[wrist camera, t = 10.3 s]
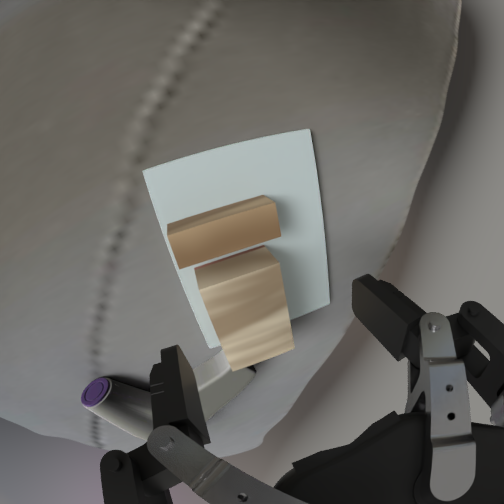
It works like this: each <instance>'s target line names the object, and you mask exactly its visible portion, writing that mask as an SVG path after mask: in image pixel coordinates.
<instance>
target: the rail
mask: <svg viewBox="0 0 504 504" xmlns="http://www.w3.org/2000/svg"><path fill="white" fill-rule="evenodd" d="M167 237H168V240H169V243H170V246H171V248H172V251H173V254H174V257H175V259H176V262H177V265H178V267H179V270H180V269H183V268H186V267H189V266H192V265H195V264H198V263H201V262H204V261H207V260H210V259H213V258H216V257H219V256H223V255H226V254H229V253H232V252H235V251H238V250H241V249H244V248H247V247H250V246H253V245H256V244H260V243H263V242H266V241H269V240H272V239H275V238H278V237H281V231H280V225H279V220H278V215H277V209H276V204H275V202H274V201H272V200H271V199H269V198H267V197H266V196H264V195H260V196H257V197H253V198H250V199H246V200H243V201H239V202H236V203H232V204H229V205H226V206H222V207H219V208H216V209H213V210H209V211H206V212H203V213H200V214H197V215H193V216H190V217H187V218H184V219H181V220H178V221H175V222H172V223H169V224H167Z"/></svg>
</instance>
